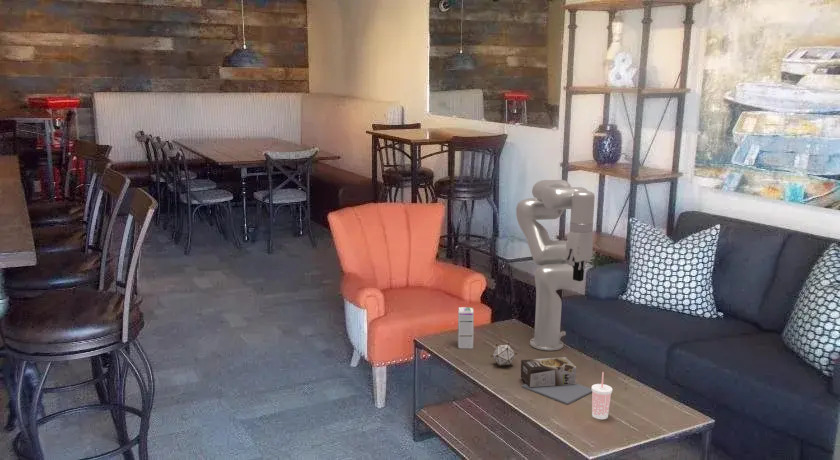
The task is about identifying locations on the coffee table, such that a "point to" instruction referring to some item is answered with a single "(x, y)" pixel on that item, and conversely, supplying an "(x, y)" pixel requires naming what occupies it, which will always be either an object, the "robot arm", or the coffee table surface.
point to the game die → (503, 354)
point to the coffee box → (548, 372)
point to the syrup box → (465, 327)
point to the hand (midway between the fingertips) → (578, 280)
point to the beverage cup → (601, 400)
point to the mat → (562, 392)
